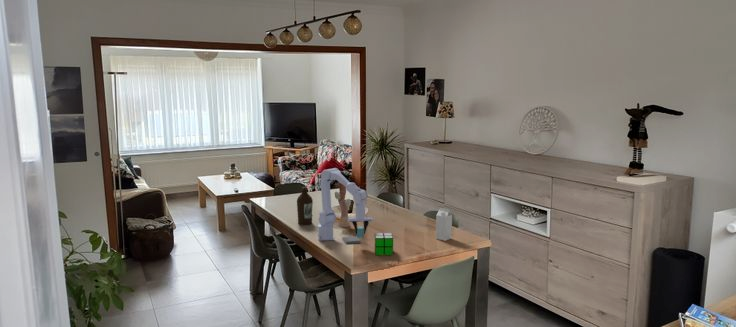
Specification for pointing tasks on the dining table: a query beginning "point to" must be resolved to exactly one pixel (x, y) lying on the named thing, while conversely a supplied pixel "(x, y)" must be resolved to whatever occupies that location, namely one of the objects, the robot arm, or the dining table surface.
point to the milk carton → (443, 224)
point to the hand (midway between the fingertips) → (360, 233)
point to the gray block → (351, 240)
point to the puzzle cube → (383, 244)
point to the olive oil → (304, 208)
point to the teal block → (360, 232)
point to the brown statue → (343, 205)
